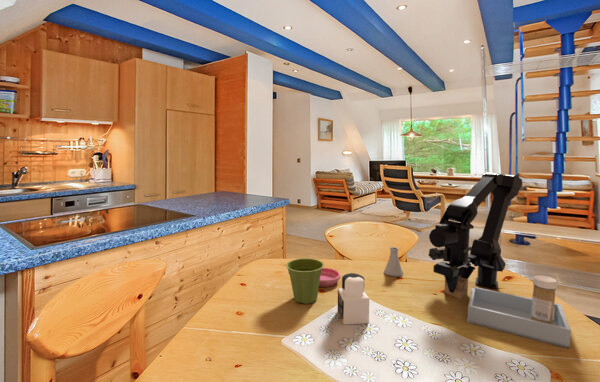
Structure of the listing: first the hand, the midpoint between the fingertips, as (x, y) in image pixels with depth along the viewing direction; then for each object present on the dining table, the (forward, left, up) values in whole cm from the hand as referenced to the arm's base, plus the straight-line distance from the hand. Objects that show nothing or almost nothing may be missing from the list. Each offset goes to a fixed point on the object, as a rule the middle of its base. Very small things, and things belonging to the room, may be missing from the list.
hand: (456, 289), depth 97 cm
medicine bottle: (+32, -22, -2) cm, 39 cm away
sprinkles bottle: (+12, +21, -1) cm, 24 cm away
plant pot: (+30, -39, -2) cm, 49 cm away
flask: (-6, -22, -2) cm, 23 cm away
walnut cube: (0, 0, -1) cm, 1 cm away
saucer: (+15, -41, -2) cm, 44 cm away
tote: (+10, +15, -1) cm, 18 cm away
